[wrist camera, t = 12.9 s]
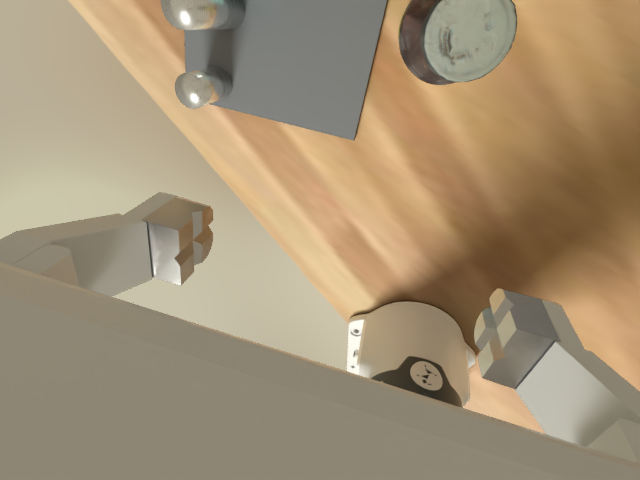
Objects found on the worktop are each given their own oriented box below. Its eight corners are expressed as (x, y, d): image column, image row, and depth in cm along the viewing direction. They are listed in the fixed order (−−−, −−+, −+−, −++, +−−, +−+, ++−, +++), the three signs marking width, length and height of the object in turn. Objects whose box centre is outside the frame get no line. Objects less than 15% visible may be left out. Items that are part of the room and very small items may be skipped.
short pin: (232, 101, 40) (205, 112, 35) (205, 94, 40) (175, 104, 35) (233, 70, 38) (205, 77, 33) (205, 64, 38) (174, 69, 33)
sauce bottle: (389, 56, 34) (366, 83, 18) (415, -21, 31) (415, -76, 14) (454, 76, 34) (492, 123, 17) (487, 1, 31) (572, -30, 14)
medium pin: (244, 32, 36) (198, 33, 28) (214, 25, 36) (162, 25, 28) (246, -6, 34) (198, -15, 26) (215, -12, 34) (159, -24, 27)
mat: (354, 138, 39) (353, 140, 39) (189, 97, 41) (186, 98, 41) (415, -121, 28) (415, -123, 27) (183, -162, 30) (179, -165, 29)
